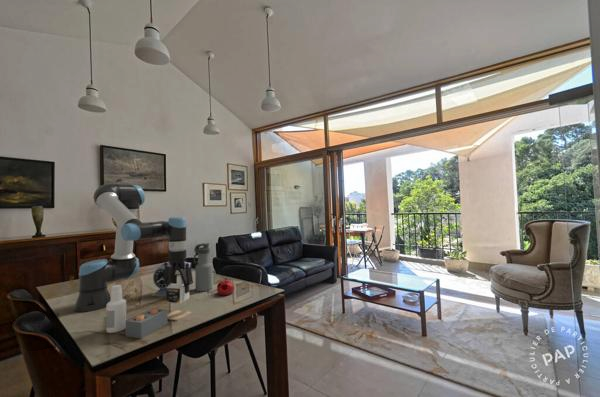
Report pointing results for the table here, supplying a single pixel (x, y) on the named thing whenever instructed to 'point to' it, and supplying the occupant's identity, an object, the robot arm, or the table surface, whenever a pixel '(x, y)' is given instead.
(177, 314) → the cork pad
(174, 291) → the medicine bottle
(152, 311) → the plunger
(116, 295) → the spray bottle
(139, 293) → the table surface
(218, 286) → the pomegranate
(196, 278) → the water bottle
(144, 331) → the grey plunger block
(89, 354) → the table surface
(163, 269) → the alarm clock
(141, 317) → the plunger
